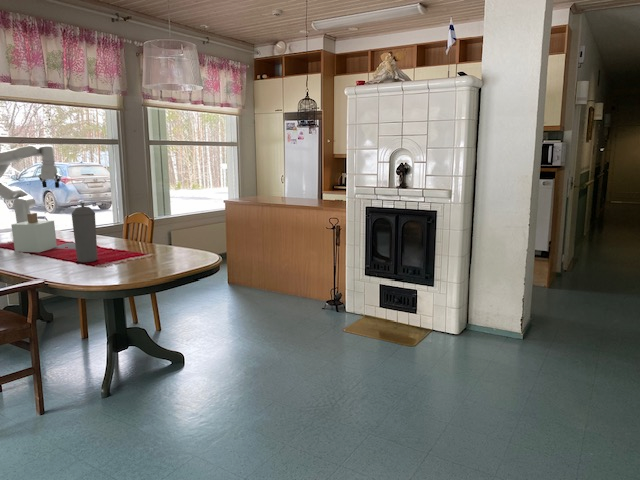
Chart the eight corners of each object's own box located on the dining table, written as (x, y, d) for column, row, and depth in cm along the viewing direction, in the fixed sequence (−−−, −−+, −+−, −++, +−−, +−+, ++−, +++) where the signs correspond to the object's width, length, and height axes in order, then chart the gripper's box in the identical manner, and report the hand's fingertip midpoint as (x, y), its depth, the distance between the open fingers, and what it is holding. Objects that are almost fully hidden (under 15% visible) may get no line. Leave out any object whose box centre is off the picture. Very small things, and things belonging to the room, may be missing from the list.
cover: (15, 251, 311) (10, 215, 307) (34, 246, 328) (29, 211, 323) (39, 252, 309) (34, 215, 304) (57, 246, 326) (52, 211, 321)
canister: (75, 264, 280) (70, 204, 273) (75, 259, 291) (70, 202, 284) (99, 261, 286) (94, 203, 279) (98, 257, 297) (93, 201, 290)
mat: (49, 248, 322) (49, 248, 321) (68, 242, 341) (68, 242, 341) (76, 249, 319) (76, 249, 319) (94, 243, 338) (94, 243, 338)
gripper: (33, 163, 338) (36, 187, 341) (56, 163, 335) (58, 188, 339) (41, 163, 345) (43, 187, 348) (63, 163, 343) (65, 187, 346)
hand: (51, 187), depth 343 cm, fingers open, 9 cm apart
